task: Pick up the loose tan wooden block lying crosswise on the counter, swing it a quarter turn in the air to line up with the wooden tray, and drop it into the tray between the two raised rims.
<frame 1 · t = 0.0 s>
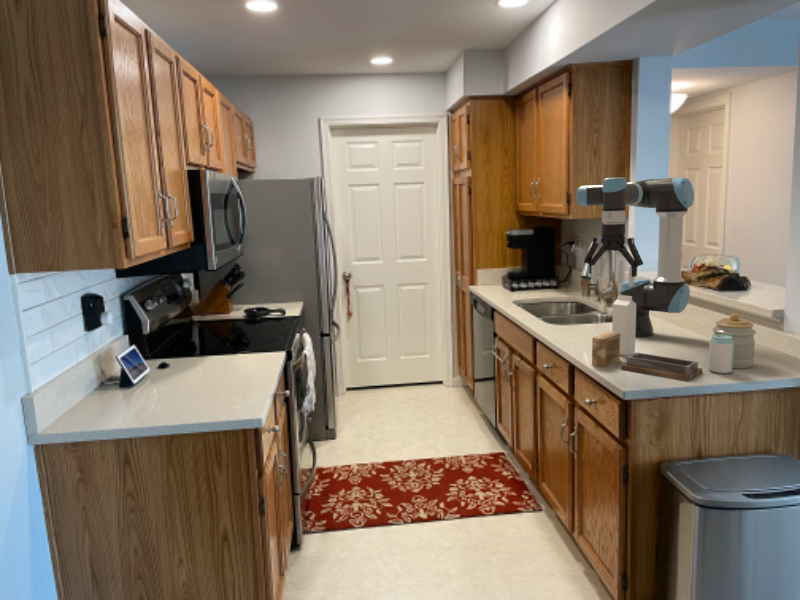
hand: (612, 284, 207), 28 cm above the worktop, fingers open, 13 cm apart
tan wooden block: (605, 362, 212), on the worktop
jar: (732, 364, 204), on the worktop
milk: (623, 353, 223), on the worktop
can: (720, 372, 196), on the worktop
wooden tray: (661, 371, 199), on the worktop
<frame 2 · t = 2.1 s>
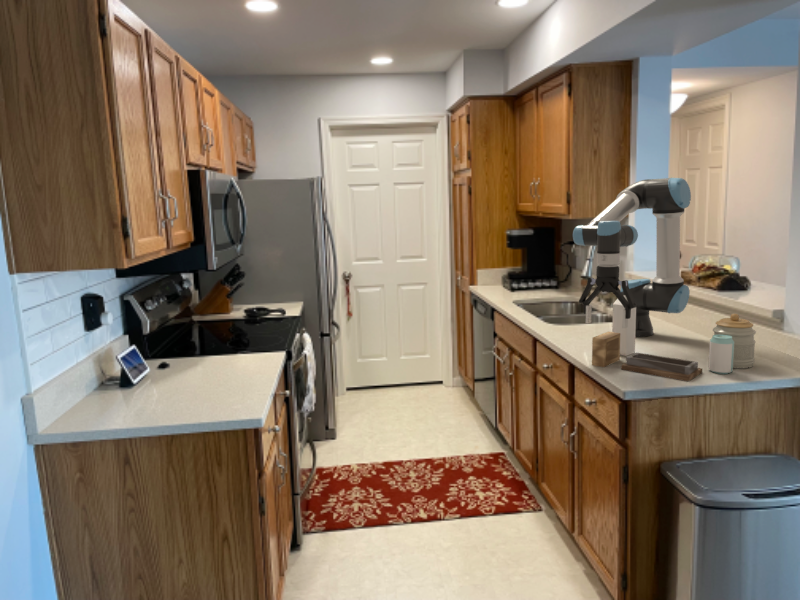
hand: (606, 325, 209), 14 cm above the worktop, fingers open, 13 cm apart
nothing on the worktop moved.
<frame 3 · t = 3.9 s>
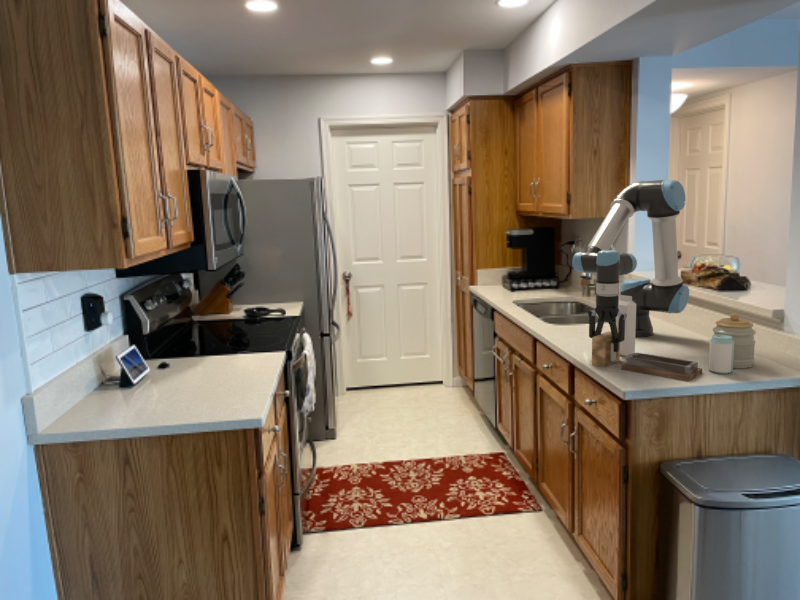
hand: (606, 359, 211), 1 cm above the worktop, fingers closed on tan wooden block, 5 cm apart
tan wooden block: (605, 362, 212), on the worktop, touching gripper
everything else where it was.
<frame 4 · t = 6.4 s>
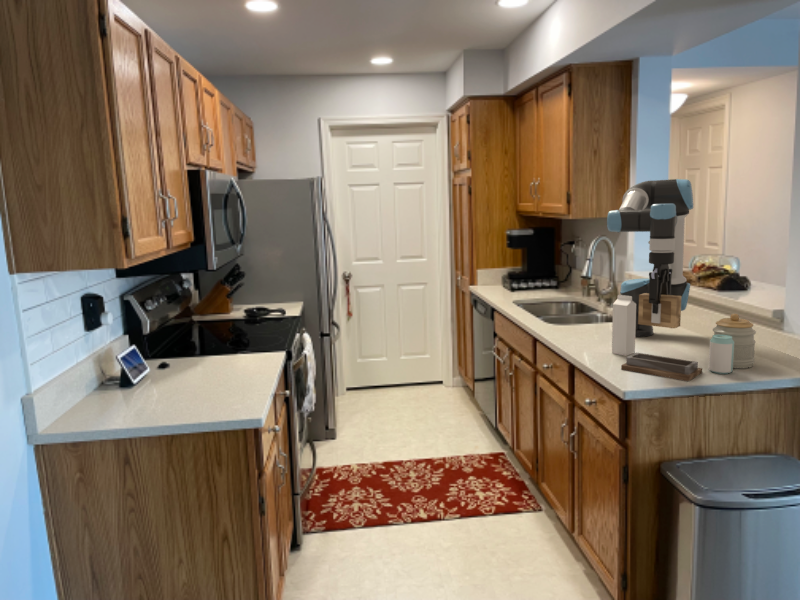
hand: (659, 321, 197), 17 cm above the worktop, fingers closed on tan wooden block, 5 cm apart
tan wooden block: (658, 325, 197), point 16 cm above the worktop, touching gripper
everything else where it was.
when the fingers open (6 cm above the worktop, at t = 9.2 s): tan wooden block drops 3 cm, resting on wooden tray.
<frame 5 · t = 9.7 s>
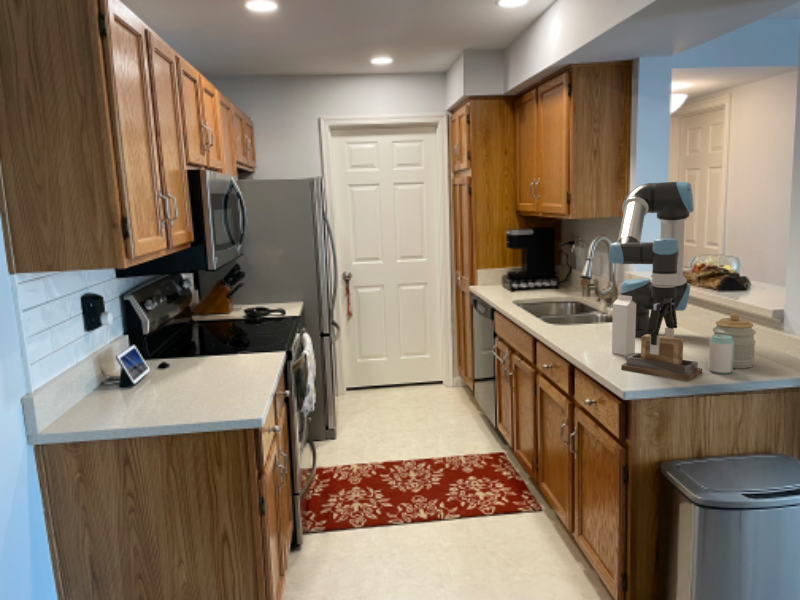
hand: (661, 350, 198), 7 cm above the worktop, fingers open, 11 cm apart
tan wooden block: (661, 366, 199), point 1 cm above the worktop, touching wooden tray
everything else where it was.
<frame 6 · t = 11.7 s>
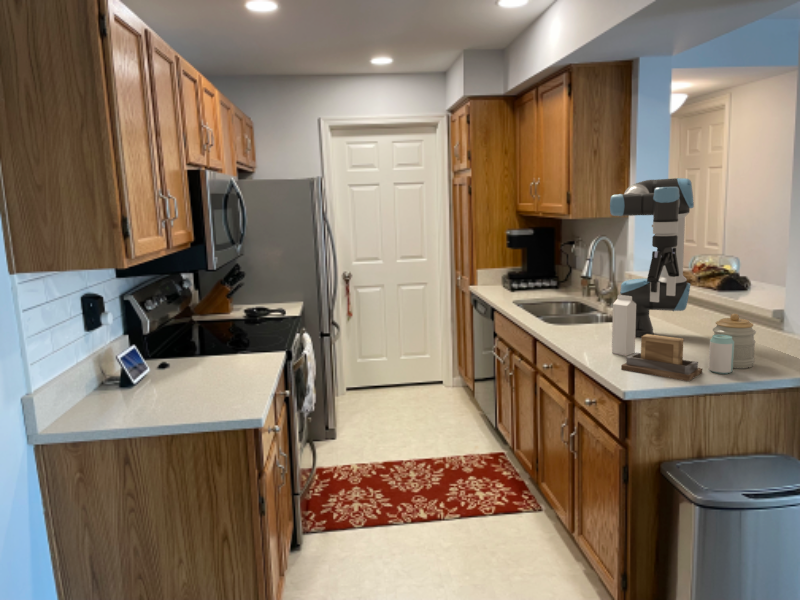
hand: (662, 298, 197), 24 cm above the worktop, fingers open, 13 cm apart
nothing on the worktop moved.
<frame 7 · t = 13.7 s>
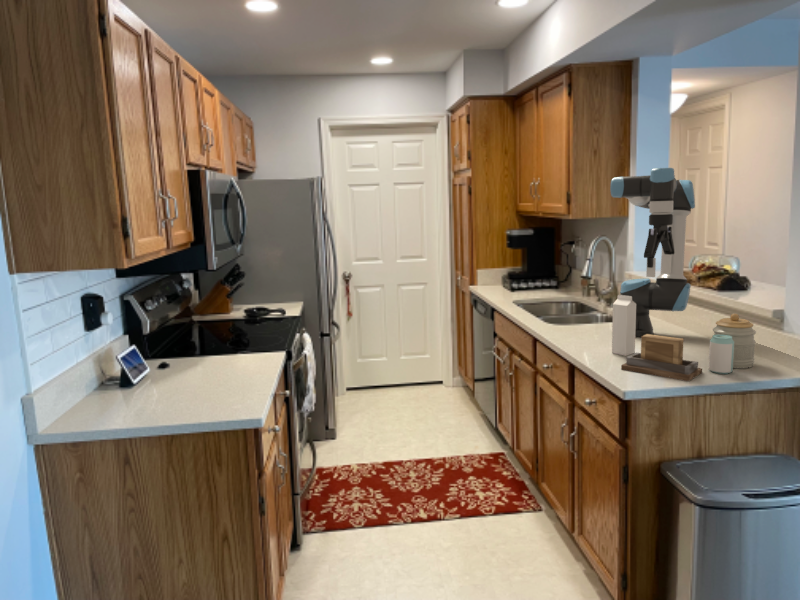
hand: (658, 274, 208), 31 cm above the worktop, fingers open, 13 cm apart
nothing on the worktop moved.
at the end: tan wooden block 0.1 cm off-centre on the wooden tray, point 1.5 cm above the wooden tray's base; tan wooden block tilted 0°; the gripper is holding nothing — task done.
